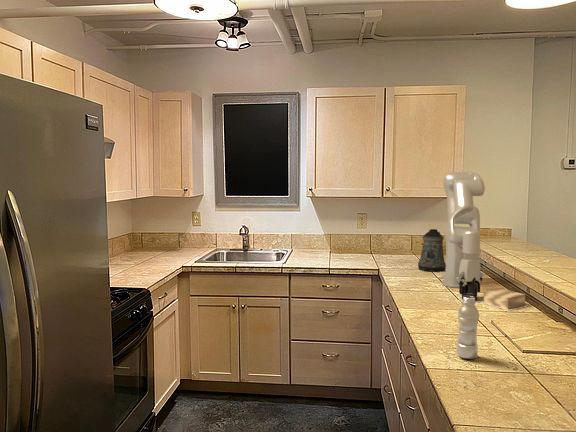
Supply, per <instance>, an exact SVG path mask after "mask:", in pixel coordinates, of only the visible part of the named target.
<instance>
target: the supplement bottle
mask: <svg viewBox="0 0 576 432" xmlns="http://www.w3.org/2000/svg"><path fill="white" fill-rule="evenodd" d="M475 281H476V279H475V277H474V279H473V280H472V281H471V282H467V283H466V285H465V286H466V295H462V294H461V297H460V298H461V300H462V301H463V296H473V297H475V302H477V301H478V293H479V292H478V284H477V283H476V282H475ZM463 283H464V282H463Z"/></svg>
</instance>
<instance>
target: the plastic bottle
mask: <svg viewBox="0 0 576 432" xmlns="http://www.w3.org/2000/svg"><path fill="white" fill-rule="evenodd" d="M457 317H458V328H459V329H458V331H459V333H458V338H457V339H458V341H457V344H456V353H457V355H458V356H459V357H460V358H462V359H465V360H474V359H476V358H477V357H478V351H479V348H478V341H477V340H478V338H477V333H478V332H477V331H478V324H479V319H480V312H479V310H478V308H477V306H476V301H475V297H473V296H463V300H462V305H461V306H460V307H459V309H458V311H457Z"/></svg>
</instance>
